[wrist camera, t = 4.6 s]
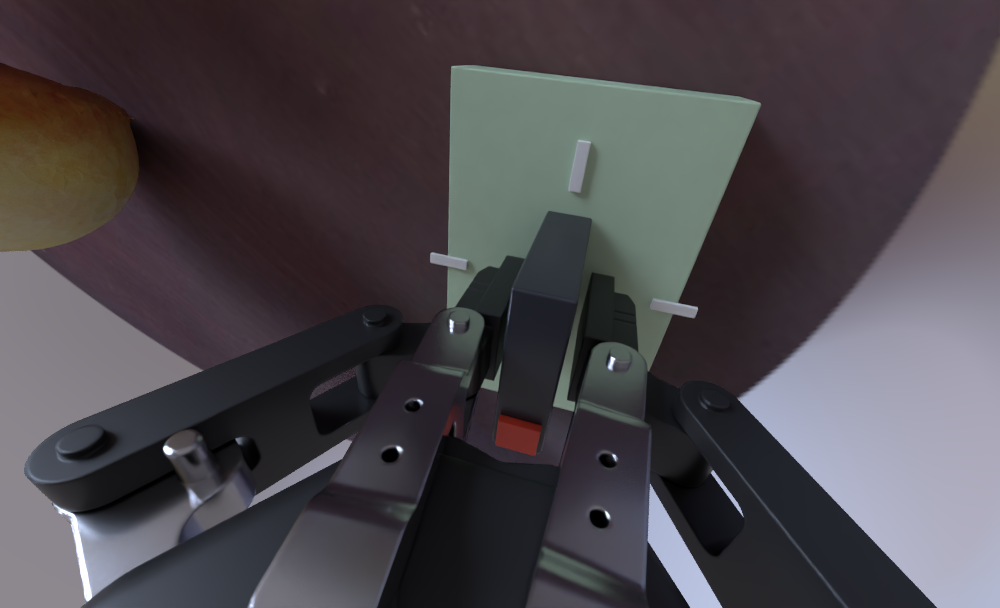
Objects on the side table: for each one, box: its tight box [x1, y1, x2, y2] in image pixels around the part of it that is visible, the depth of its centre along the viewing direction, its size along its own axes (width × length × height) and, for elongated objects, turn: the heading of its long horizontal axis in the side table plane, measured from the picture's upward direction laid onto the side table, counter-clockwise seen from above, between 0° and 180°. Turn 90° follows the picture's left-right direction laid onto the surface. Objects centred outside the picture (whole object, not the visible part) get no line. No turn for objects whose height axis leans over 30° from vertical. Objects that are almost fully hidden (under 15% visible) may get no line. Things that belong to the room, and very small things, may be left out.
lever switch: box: [430, 65, 761, 412], centre depth 14 cm, size 12×9×2 cm
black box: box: [492, 211, 592, 456], centre depth 11 cm, size 5×1×5 cm, turn 175°
